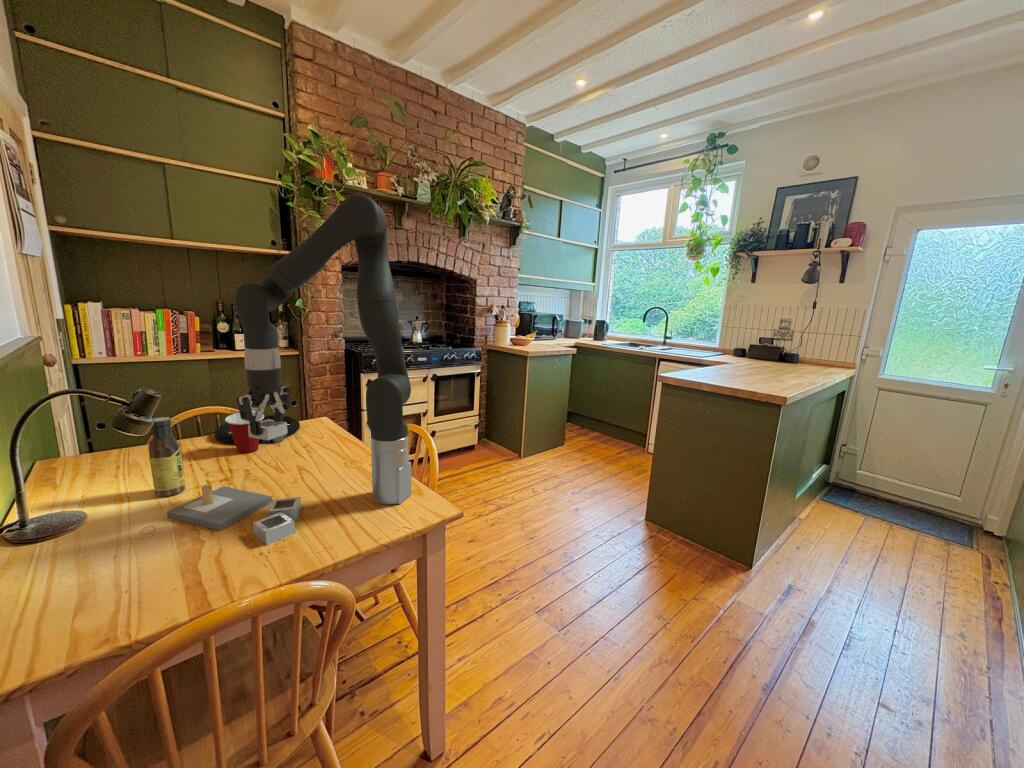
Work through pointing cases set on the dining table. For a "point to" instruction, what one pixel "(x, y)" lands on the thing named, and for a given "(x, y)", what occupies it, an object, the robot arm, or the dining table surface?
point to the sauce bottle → (166, 459)
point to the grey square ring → (270, 429)
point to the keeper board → (219, 507)
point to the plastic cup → (242, 434)
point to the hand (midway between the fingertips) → (268, 430)
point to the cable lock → (226, 437)
